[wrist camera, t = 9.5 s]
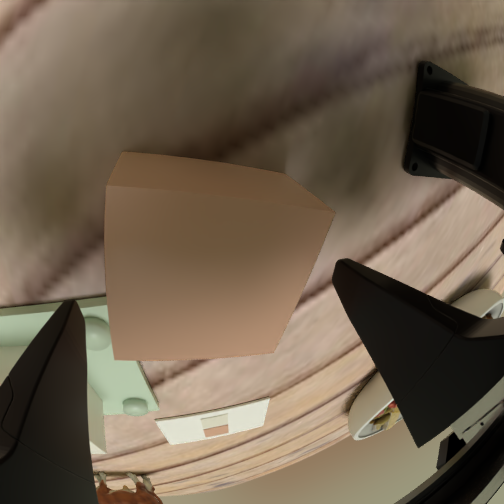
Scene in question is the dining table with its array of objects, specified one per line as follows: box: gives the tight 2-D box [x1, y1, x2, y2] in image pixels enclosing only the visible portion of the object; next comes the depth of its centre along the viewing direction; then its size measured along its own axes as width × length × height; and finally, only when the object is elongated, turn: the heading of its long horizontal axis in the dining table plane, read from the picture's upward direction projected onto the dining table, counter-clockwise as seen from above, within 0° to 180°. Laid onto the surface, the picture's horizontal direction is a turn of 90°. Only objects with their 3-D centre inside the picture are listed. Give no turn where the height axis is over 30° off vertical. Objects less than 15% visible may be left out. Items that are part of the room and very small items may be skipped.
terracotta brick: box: [104, 151, 336, 361], centre depth 10 cm, size 6×6×4 cm
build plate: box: [0, 296, 160, 416], centre depth 12 cm, size 14×11×1 cm
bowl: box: [348, 289, 504, 440], centre depth 31 cm, size 30×30×8 cm
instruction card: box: [155, 397, 270, 445], centre depth 22 cm, size 10×7×1 cm
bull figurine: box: [94, 472, 163, 504], centre depth 24 cm, size 4×13×8 cm, turn 73°
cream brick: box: [0, 346, 107, 454], centre depth 11 cm, size 6×6×4 cm
